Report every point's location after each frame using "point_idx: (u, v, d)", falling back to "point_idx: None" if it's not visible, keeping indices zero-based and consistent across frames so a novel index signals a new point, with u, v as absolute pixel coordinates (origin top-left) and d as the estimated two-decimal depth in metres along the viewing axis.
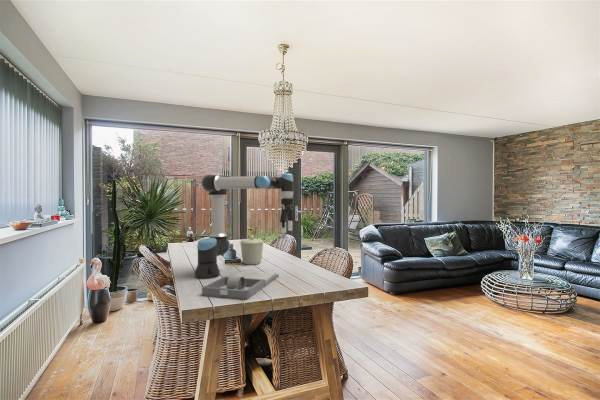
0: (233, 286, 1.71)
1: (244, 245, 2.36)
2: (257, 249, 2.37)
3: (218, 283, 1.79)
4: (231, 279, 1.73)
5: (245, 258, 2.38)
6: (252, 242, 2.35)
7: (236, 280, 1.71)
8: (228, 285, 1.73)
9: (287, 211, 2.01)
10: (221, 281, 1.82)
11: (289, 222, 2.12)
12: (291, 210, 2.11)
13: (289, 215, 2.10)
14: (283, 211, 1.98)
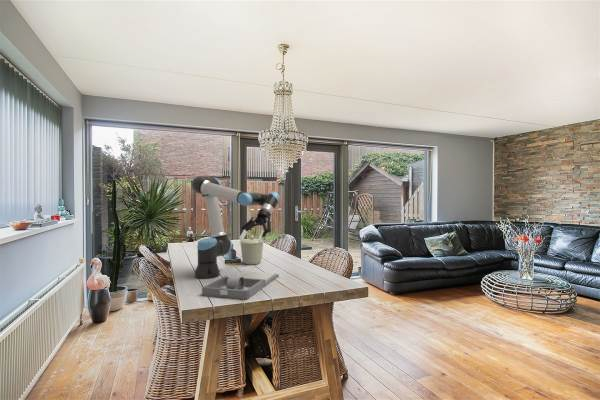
0: (233, 286, 1.71)
1: (244, 245, 2.36)
2: (257, 249, 2.37)
3: (218, 283, 1.79)
4: (231, 279, 1.73)
5: (245, 258, 2.38)
6: (252, 242, 2.35)
7: (235, 280, 1.71)
8: (228, 285, 1.72)
9: None
10: (221, 281, 1.82)
11: (244, 232, 1.91)
12: None
13: (251, 226, 1.93)
14: (270, 223, 1.89)
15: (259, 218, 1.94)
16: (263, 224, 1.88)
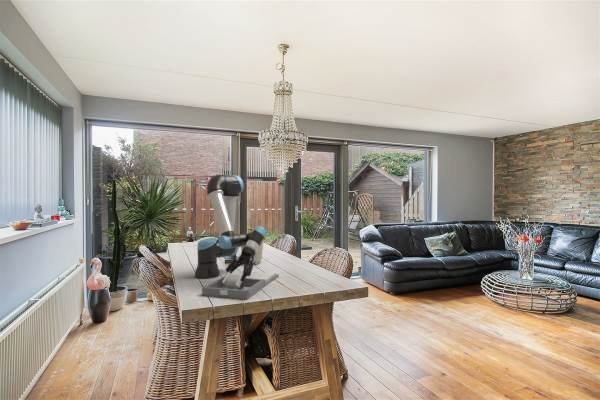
0: (232, 287, 1.70)
1: None
2: None
3: (218, 283, 1.79)
4: (230, 279, 1.72)
5: None
6: None
7: (235, 281, 1.70)
8: (227, 286, 1.71)
9: (248, 265, 1.78)
10: (221, 281, 1.82)
11: (229, 274, 1.76)
12: (236, 263, 1.83)
13: (235, 267, 1.79)
14: (252, 264, 1.75)
15: (243, 256, 1.81)
16: (244, 265, 1.75)
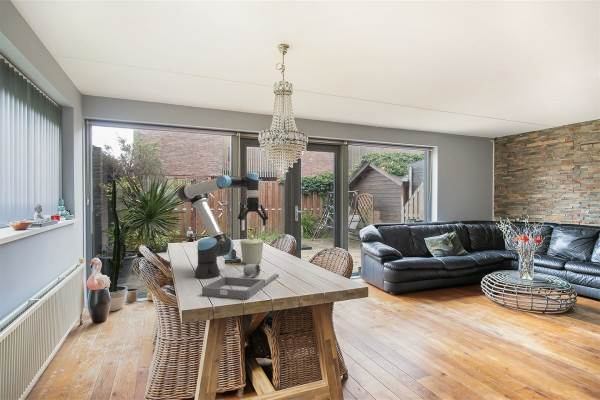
0: (249, 272, 1.91)
1: (244, 245, 2.36)
2: (257, 249, 2.37)
3: (218, 283, 1.79)
4: (248, 266, 1.93)
5: (245, 258, 2.38)
6: (252, 242, 2.35)
7: (252, 267, 1.92)
8: (245, 271, 1.93)
9: (259, 210, 2.06)
10: (221, 281, 1.82)
11: (243, 221, 2.07)
12: (244, 209, 2.09)
13: (246, 214, 2.07)
14: (263, 209, 2.04)
15: (250, 206, 2.05)
16: (258, 213, 2.04)
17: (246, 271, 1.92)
